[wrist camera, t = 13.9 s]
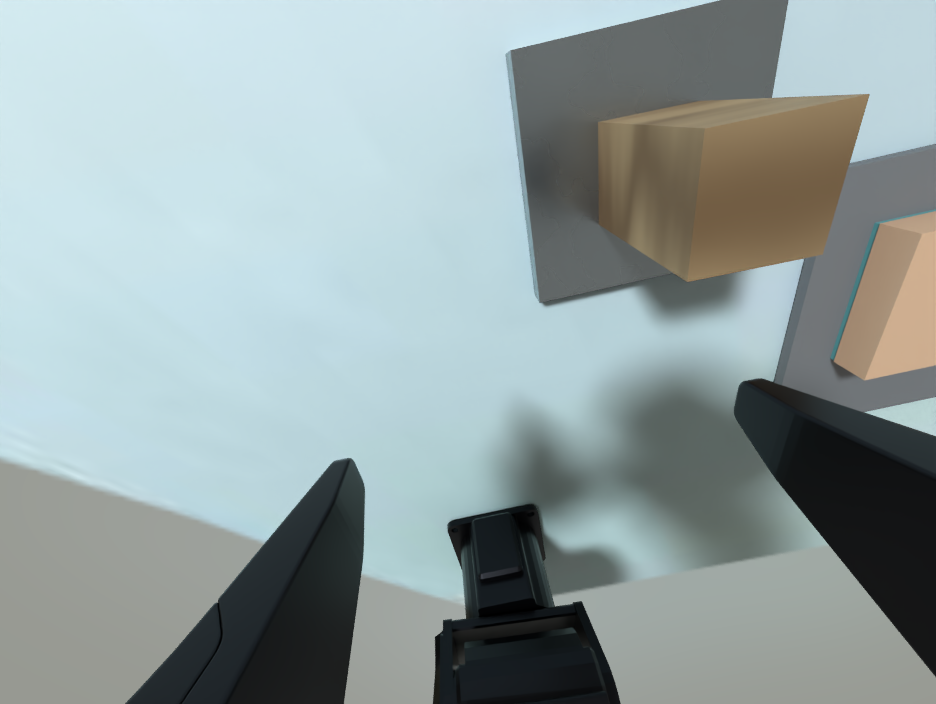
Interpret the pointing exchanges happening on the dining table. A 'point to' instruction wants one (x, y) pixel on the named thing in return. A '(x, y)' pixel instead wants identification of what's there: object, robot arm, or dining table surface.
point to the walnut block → (727, 180)
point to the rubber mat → (833, 277)
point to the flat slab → (892, 301)
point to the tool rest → (613, 96)
